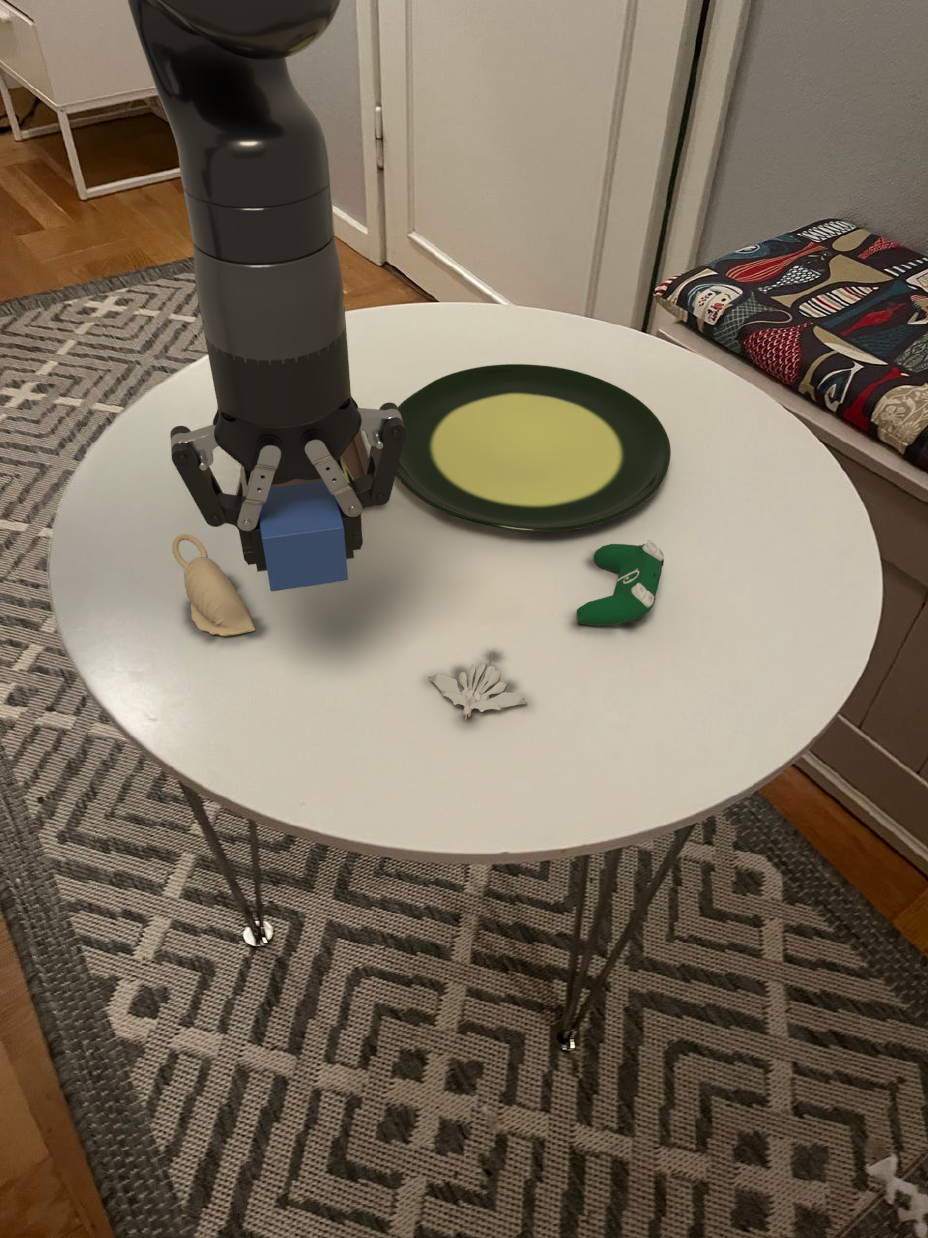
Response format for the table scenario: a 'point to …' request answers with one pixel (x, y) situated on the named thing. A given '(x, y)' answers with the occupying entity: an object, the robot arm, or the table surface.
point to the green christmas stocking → (625, 584)
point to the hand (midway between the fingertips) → (304, 556)
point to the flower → (477, 690)
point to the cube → (303, 536)
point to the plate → (531, 448)
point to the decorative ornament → (212, 594)
